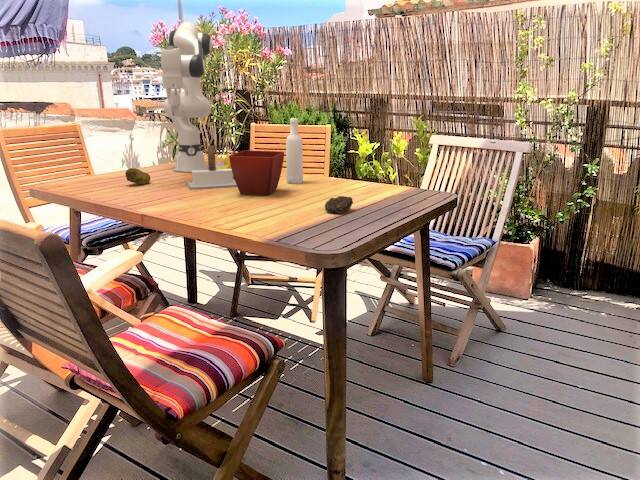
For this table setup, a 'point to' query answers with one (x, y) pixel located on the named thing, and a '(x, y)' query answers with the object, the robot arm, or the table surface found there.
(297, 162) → the bottle
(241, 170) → the plant pot
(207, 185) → the ridge
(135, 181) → the potato
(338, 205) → the dark brown rock
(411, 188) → the table surface
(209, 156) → the post
